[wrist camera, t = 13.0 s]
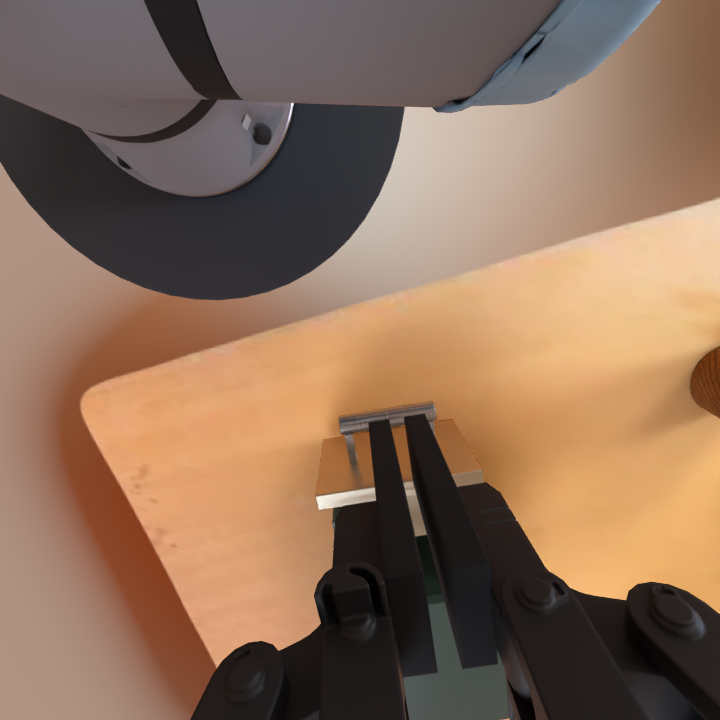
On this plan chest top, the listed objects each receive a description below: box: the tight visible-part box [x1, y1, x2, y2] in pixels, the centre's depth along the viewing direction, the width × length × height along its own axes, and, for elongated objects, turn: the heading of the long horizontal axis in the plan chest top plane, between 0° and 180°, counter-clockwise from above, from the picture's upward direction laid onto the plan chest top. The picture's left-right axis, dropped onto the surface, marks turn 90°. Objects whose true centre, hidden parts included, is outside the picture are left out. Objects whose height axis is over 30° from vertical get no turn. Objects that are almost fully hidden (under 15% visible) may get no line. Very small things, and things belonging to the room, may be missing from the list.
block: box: [407, 495, 427, 536], centre depth 31 cm, size 4×4×4 cm
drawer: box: [315, 401, 484, 595], centre depth 30 cm, size 16×11×8 cm
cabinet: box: [403, 593, 509, 720], centre depth 34 cm, size 14×13×10 cm
